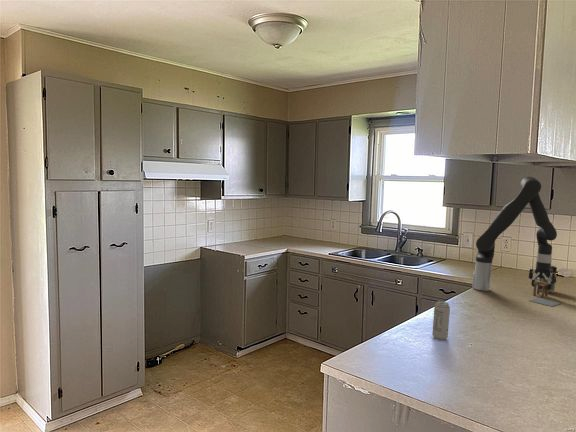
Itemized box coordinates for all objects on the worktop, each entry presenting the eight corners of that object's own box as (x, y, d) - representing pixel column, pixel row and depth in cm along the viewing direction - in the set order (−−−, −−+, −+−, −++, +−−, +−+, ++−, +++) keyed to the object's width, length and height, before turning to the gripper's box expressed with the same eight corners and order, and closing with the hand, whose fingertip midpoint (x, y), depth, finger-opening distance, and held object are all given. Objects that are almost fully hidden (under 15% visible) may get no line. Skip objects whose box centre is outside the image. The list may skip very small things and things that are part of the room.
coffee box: (538, 291, 260) (540, 265, 259) (534, 288, 266) (537, 263, 265) (554, 293, 258) (557, 267, 257) (550, 290, 264) (553, 265, 263)
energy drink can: (450, 340, 173) (453, 305, 171) (437, 341, 171) (439, 305, 170) (442, 335, 178) (444, 300, 177) (429, 335, 177) (432, 300, 176)
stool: (532, 295, 251) (533, 282, 250) (537, 293, 254) (538, 280, 254) (543, 297, 246) (544, 284, 245) (548, 296, 250) (549, 283, 249)
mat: (528, 301, 238) (528, 300, 238) (538, 298, 245) (538, 297, 245) (551, 306, 228) (551, 306, 228) (561, 303, 235) (561, 303, 235)
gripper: (528, 259, 252) (525, 286, 253) (554, 264, 240) (551, 291, 242) (534, 258, 256) (531, 284, 258) (559, 263, 245) (557, 290, 246)
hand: (541, 288), depth 250 cm, fingers open, 8 cm apart
